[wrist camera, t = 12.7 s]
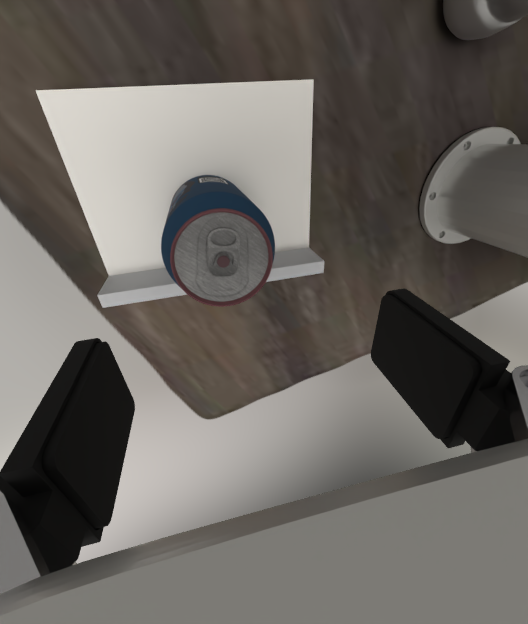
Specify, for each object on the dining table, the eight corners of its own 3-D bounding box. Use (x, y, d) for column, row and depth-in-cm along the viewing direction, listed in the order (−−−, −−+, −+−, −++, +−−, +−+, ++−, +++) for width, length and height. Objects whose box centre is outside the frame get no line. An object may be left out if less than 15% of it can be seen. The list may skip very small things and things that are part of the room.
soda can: (245, 252, 28) (276, 313, 18) (173, 251, 26) (164, 318, 16) (249, 176, 25) (290, 200, 15) (167, 170, 23) (150, 192, 13)
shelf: (300, 85, 24) (335, 68, 19) (299, 249, 33) (323, 272, 27) (53, 96, 21) (2, 79, 15) (119, 274, 29) (102, 307, 24)
